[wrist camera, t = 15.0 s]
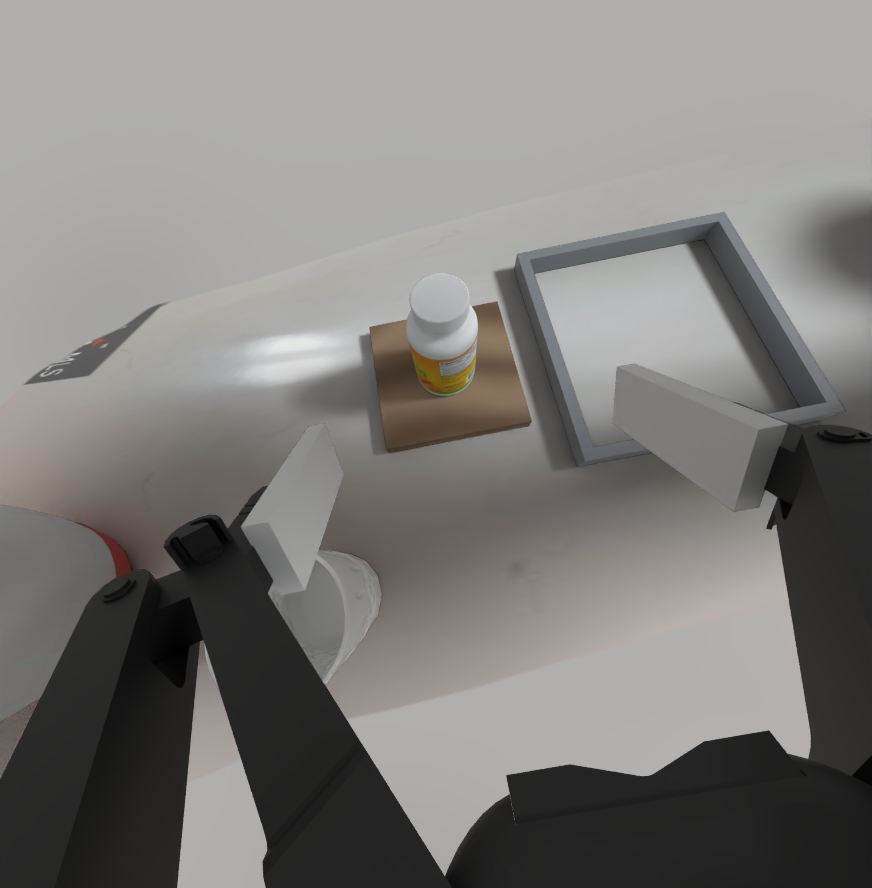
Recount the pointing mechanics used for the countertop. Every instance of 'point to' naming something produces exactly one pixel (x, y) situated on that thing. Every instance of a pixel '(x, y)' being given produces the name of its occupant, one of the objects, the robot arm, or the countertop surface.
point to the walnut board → (456, 416)
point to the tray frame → (748, 287)
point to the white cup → (330, 610)
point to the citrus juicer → (45, 595)
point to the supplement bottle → (442, 334)
